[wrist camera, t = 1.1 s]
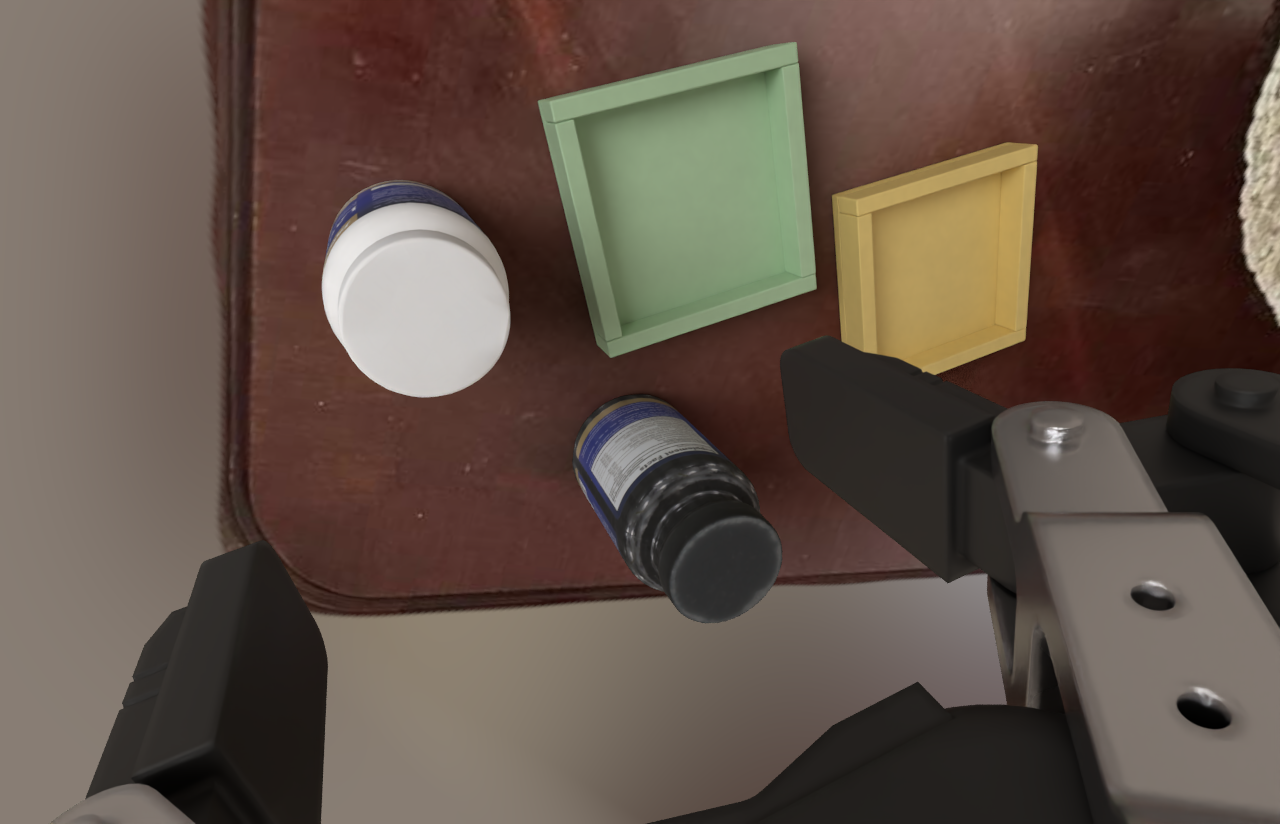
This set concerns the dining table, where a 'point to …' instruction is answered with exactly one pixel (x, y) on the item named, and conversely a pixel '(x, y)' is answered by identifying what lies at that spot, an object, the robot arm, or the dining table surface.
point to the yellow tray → (938, 258)
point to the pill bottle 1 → (415, 290)
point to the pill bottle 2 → (676, 508)
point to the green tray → (685, 194)
